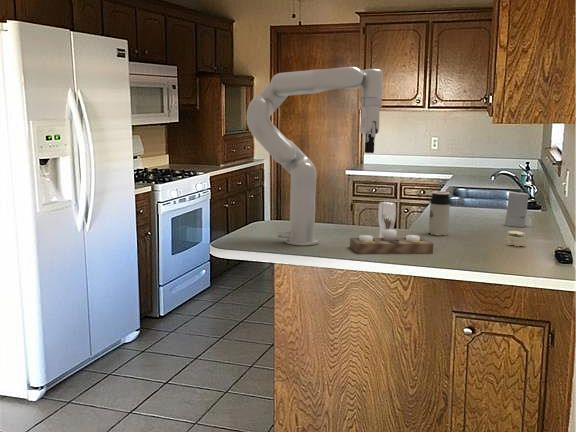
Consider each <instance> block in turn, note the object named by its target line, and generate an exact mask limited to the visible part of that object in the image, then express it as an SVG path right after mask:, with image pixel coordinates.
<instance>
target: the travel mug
mask: <svg viewBox="0 0 576 432" xmlns="http://www.w3.org/2000/svg"><path fill="white" fill-rule="evenodd" d="M431 195H432V196H431V199H430V203H429V204H430V205H429V219H428V220H429V221H428V234H429V233H432V234H439V235H445V236H448V234H449V224H450V223H449V220H450V203H451V201H450V198H449V196H450V192H448V191H435V190H434V191H431Z"/></svg>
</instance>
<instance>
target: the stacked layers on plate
mask: <svg viewBox="0 0 576 432" xmlns="http://www.w3.org/2000/svg"><path fill="white" fill-rule="evenodd" d="M508 233H510V234H508ZM525 234H526V233H525V232H522V231H518V230H509V231H507V234H506V236H507V240H506V242H507V244H511V245H515V246H524V247H525V244H526V242H525V240H526V239H527V238H526V236H525Z"/></svg>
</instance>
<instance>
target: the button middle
mask: <svg viewBox="0 0 576 432" xmlns="http://www.w3.org/2000/svg"><path fill="white" fill-rule="evenodd" d="M397 234H398V231H397V229H394V228H393V229H384V230H383V241H396V238H398V237H397V236H398V235H397Z"/></svg>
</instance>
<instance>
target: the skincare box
mask: <svg viewBox="0 0 576 432" xmlns="http://www.w3.org/2000/svg"><path fill="white" fill-rule="evenodd" d="M529 195H530V194H529V193H524V192H515V191H510V192H508V200H507V208H506V209H507V210H506V217H505V224H504V225H505V226H506V227H515V228H524V227H525V226H526V220H527V219H526V217H527V212H528V210H527V209H528V203H529Z"/></svg>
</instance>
